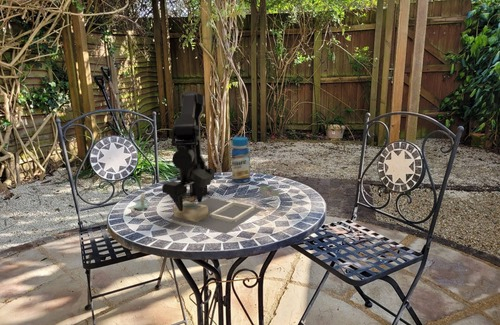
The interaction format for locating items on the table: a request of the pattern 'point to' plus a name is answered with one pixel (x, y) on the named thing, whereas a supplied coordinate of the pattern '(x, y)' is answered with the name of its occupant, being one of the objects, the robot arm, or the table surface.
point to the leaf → (267, 191)
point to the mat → (223, 215)
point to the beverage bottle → (240, 161)
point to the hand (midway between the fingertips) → (190, 206)
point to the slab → (191, 211)
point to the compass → (188, 197)
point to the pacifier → (141, 204)
